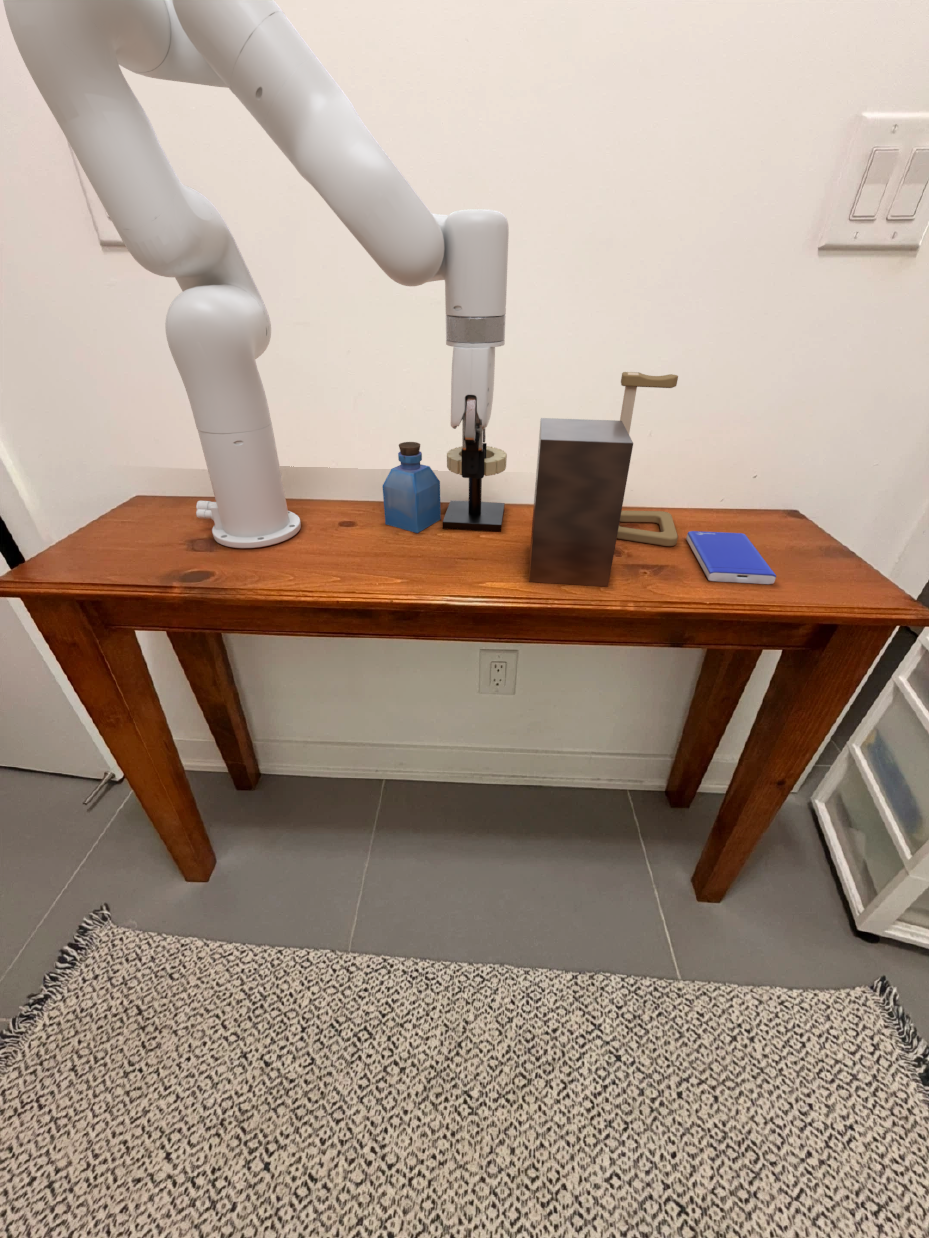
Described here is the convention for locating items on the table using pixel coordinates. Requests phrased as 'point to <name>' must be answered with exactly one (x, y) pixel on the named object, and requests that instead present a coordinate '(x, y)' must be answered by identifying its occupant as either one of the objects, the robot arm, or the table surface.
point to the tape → (492, 463)
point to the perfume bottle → (411, 492)
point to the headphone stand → (631, 383)
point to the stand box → (578, 500)
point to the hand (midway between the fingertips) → (474, 473)
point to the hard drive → (729, 558)
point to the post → (474, 512)
